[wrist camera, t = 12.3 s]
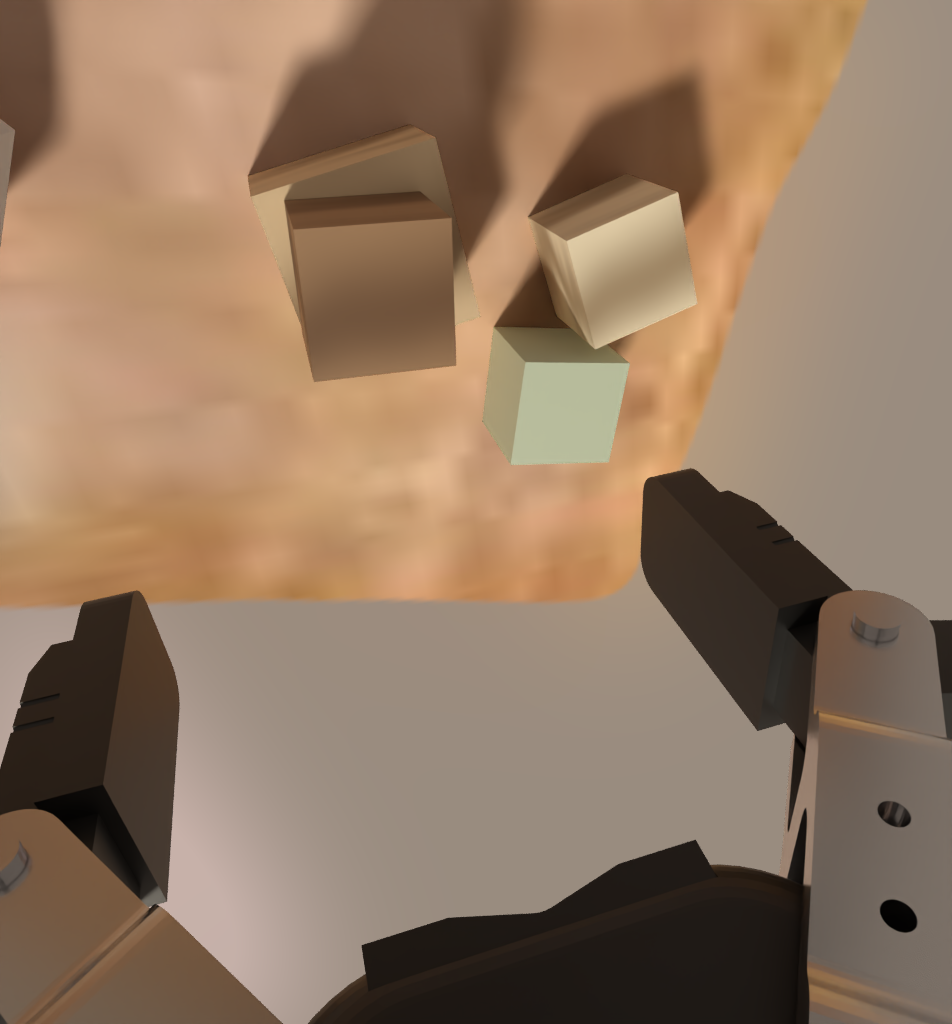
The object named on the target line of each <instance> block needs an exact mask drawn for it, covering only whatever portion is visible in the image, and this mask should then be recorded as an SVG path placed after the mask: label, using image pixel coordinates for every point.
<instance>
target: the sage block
mask: <svg viewBox="0 0 952 1024" xmlns="http://www.w3.org/2000/svg"><path fill="white" fill-rule="evenodd" d="M629 365H630V363H629V362H628V361H626V360H625V359H624V358H623V357H622V356H620V355H619V354H618V353H617V352H615V351H614V350H613V349H612V348H611V347H609V346H608V345H607V344H606V345H604V346H602V347H600V348H598V349H594V348H593V347H592V346H591V345H590V344H588V343H587V342H586V341H585V340H584V339H583V338H581V337H580V336H579V335H578V334H577V333H576V332H575V331H573V330H572V329H571V328H528V327H494V328H493V336H492V345H491V353H490V361H489V370H488V378H487V387H486V395H485V403H484V412H483V420H482V422H483V423H484V425H485V426H486V428H487V429H488V431H489V432H490V434H491V435H492V437H493V439H494V440H495V442H496V443H497V445H498V446H499V448H500V449H501V451H502V452H503V454H504V455H505V457H506V459H507V460H508V462H509V463H510V465H528V464H563V463H597V462H609V458H610V453H611V449H612V444H613V439H614V435H615V430H616V425H617V421H618V416H619V411H620V407H621V402H622V397H623V393H624V388H625V383H626V379H627V374H628V369H629Z"/></svg>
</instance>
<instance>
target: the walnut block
mask: <svg viewBox="0 0 952 1024" xmlns="http://www.w3.org/2000/svg"><path fill="white" fill-rule="evenodd" d="M284 204H285V211H286V218H287V226H288V233H289V240H290V247H291V254H292V262H293V269H294V276H295V283H296V290H297V298H298V305H299V312H300V319H301V326H302V334H303V338H304V342H305V347H306V351H307V355H308V359H309V363H310V367H311V372H312V376H313V380H314V382H318V381H327V380H336V379H344V378H353V377H362V376H371V375H379V374H388V373H397V372H405V371H414V370H423V369H431V368H440V367H449V366H456V341H455V309H454V277H453V245H452V218H451V217H450V216H449V215H448V214H446V213H445V212H444V211H443V210H442V209H440V208H439V207H438V206H437V205H436V204H435V203H433V202H432V201H431V200H430V199H429V198H428V197H426V196H425V195H424V194H423V193H422V192H421V191H416V192H401V193H386V194H370V195H355V196H340V197H324V198H309V199H294V200H284Z"/></svg>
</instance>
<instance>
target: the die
mask: <svg viewBox="0 0 952 1024" xmlns="http://www.w3.org/2000/svg"><path fill="white" fill-rule="evenodd" d="M14 136H15V130H14V129H13V128H12V127H10V126H9V125H8V124H6V123H5V122H4V121H2V120H1V119H0V245H1V238H2V230H3V222H4V214H5V206H6V198H7V191H8V183H9V175H10V167H11V159H12V151H13V144H14Z"/></svg>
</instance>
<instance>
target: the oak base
mask: <svg viewBox="0 0 952 1024" xmlns="http://www.w3.org/2000/svg"><path fill="white" fill-rule="evenodd" d="M248 182H249V189H250V196H251V199H252V201H253V204H254V206H255V209H256V212H257V214H258V217H259V219H260V222H261V224H262V227H263V229H264V232H265V234H266V237H267V240H268V242H269V245H270V247H271V250H272V252H273V255H274V257H275V260H276V262H277V265H278V268H279V270H280V273H281V275H282V278H283V280H284V283H285V285H286V288H287V290H288V293H289V296H290V298H291V301H292V303H293V306H294V308H295V311H296V313H297V316H298V318H299V321H300V323H301V319H300V312H299V305H298V298H297V290H296V283H295V276H294V269H293V262H292V254H291V247H290V240H289V233H288V226H287V218H286V211H285V204H284V200H294V199H309V198H324V197H340V196H355V195H370V194H386V193H401V192H416V191H421V192H422V193H423V194H424V195H425V196H426V197H428V198H429V199H430V200H431V201H432V202H433V203H435V204H436V205H437V206H438V207H439V208H440V209H442V210H443V211H444V212H445V213H446V214H448V215H449V216H450V217H451V218H452V245H453V277H454V309H455V326H456V325H459V324H462V323H465V322H468V321H471V320H473V319H476V318H479V317H481V316H480V312H479V308H478V304H477V300H476V296H475V292H474V288H473V284H472V280H471V276H470V272H469V268H468V264H467V260H466V256H465V252H464V248H463V244H462V240H461V236H460V232H459V228H458V224H457V220H456V217H455V213H454V209H453V205H452V201H451V197H450V193H449V189H448V185H447V181H446V177H445V173H444V169H443V165H442V161H441V157H440V153H439V149H438V145H437V141H436V137H434V136H432V135H430V134H428V133H426V132H424V131H422V130H420V129H418V128H416V127H414V126H412V125H407V126H403V127H400V128H397V129H394V130H391V131H388V132H385V133H381V134H378V135H375V136H372V137H369V138H366V139H363V140H359V141H356V142H353V143H350V144H347V145H344V146H341V147H337V148H334V149H331V150H328V151H325V152H322V153H319V154H315V155H312V156H309V157H306V158H303V159H300V160H297V161H293V162H290V163H287V164H284V165H281V166H278V167H274V168H271V169H268V170H265V171H262V172H259V173H256V174H252V175H249V176H248Z"/></svg>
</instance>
